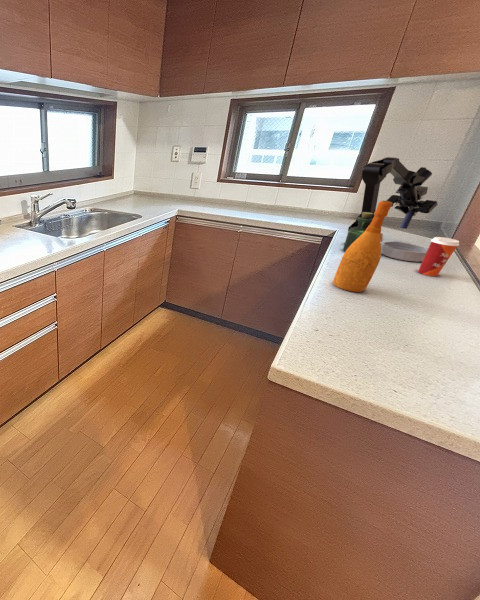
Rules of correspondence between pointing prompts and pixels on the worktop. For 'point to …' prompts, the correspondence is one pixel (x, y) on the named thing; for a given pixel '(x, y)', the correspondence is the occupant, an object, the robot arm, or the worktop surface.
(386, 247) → the dish
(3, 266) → the worktop surface
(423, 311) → the worktop surface
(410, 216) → the rod
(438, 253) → the paper cup
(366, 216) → the potion bottle
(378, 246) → the wine bottle
